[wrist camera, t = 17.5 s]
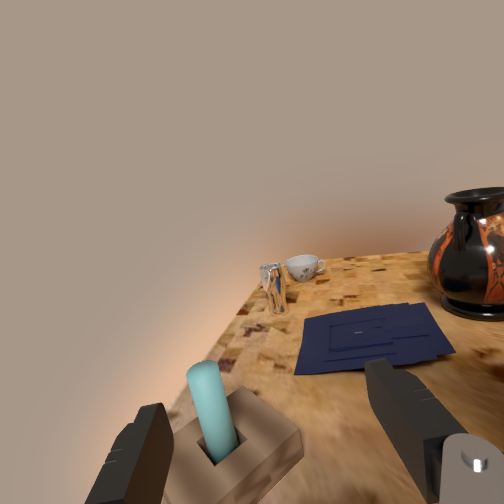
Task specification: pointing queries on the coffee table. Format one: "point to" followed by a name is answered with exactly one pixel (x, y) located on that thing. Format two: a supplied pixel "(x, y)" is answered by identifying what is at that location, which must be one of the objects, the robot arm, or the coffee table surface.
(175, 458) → the walnut block
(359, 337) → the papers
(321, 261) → the teacup
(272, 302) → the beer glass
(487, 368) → the coffee table surface
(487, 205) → the amphora vase
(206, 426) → the teal pin
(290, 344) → the coffee table surface
